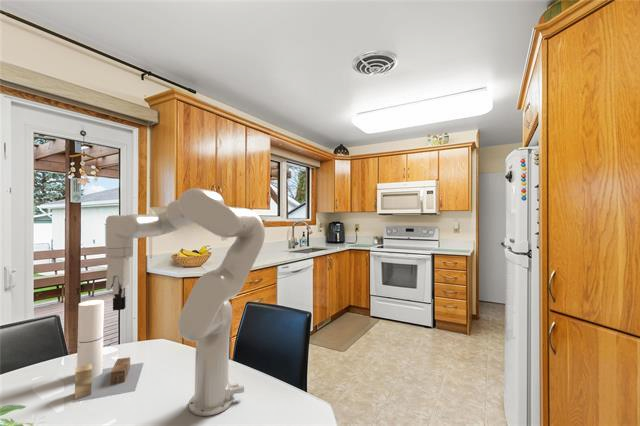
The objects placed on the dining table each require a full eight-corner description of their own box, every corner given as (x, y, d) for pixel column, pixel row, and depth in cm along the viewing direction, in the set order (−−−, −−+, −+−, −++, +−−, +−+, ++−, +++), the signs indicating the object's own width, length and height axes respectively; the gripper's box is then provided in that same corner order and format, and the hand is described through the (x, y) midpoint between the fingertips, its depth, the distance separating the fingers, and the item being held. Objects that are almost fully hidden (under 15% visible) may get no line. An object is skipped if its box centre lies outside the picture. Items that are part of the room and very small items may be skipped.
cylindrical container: (88, 381, 101) (90, 306, 101) (71, 378, 102) (73, 304, 103) (107, 370, 108) (109, 300, 108) (91, 368, 109) (92, 299, 110)
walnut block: (124, 382, 101) (130, 368, 110) (124, 370, 101) (130, 357, 110) (110, 384, 99) (117, 370, 108) (110, 372, 99) (117, 359, 108)
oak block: (90, 388, 97) (91, 363, 97) (91, 394, 94) (91, 368, 94) (74, 393, 94) (75, 367, 94) (74, 399, 91) (75, 372, 91)
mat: (143, 363, 114) (143, 362, 114) (134, 391, 96) (135, 390, 96) (92, 371, 108) (92, 370, 108) (72, 403, 90) (72, 402, 90)
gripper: (111, 251, 104) (111, 304, 104) (99, 256, 90) (99, 317, 90) (136, 250, 107) (136, 302, 107) (128, 254, 93) (128, 314, 93)
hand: (119, 309), depth 98 cm, fingers closed
